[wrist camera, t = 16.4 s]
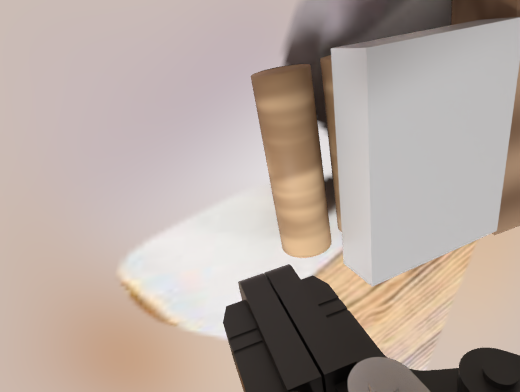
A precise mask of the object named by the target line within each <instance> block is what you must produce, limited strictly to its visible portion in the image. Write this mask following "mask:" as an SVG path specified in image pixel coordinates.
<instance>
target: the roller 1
mask: <svg viewBox="0 0 520 392" xmlns="http://www.w3.org/2000/svg"><path fill="white" fill-rule="evenodd" d="M251 80H252V85H253V91H254V96H255V101H256V107H257V112H258V118H259V123H260V128H261V134H262V139H263V145H264V150H265V155H266V161H267V166H268V171H269V177H270V183H271V188H272V194H273V199H274V204H275V210H276V215H277V221H278V226H279V231H280V237H281V242H282V248H283V250H284V251H285V253H287V254H288V255H291V256H293V257H299V258H307V257H313V256H317V255H319V254H321V253H323V252H325V251H326V250H327V249H328V248H329V247H330V245H331V234H330V226H329V217H328V209H327V200H326V192H325V183H324V175H323V167H322V158H321V150H320V141H319V133H318V124H317V116H316V107H315V99H314V90H313V82H312V73H311V65H309V64H296V65H288V66H282V67H276V68H272V69H268V70H264V71H261V72H258V73H255V74H253V75H252V76H251Z"/></svg>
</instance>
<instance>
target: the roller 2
mask: <svg viewBox="0 0 520 392" xmlns="http://www.w3.org/2000/svg"><path fill="white" fill-rule="evenodd" d="M320 63H321V73H322V82H323V91H324V101H325V110H326V119H327V129H328V138H329V146H330V157H331V166H332V175H333V185H334V194H335V203H336V213H337V222H338V228H339V230H340V231H341V232H342V227H341V211H340V194H339V177H338V161H337V144H336V127H335V111H334V94H333V77H332V61H331V55H328V56H325V57H323V58H321V59H320Z"/></svg>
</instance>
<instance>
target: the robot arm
mask: <svg viewBox="0 0 520 392" xmlns="http://www.w3.org/2000/svg"><path fill="white" fill-rule="evenodd" d="M238 284H239V289H240V293H241V297H242V301H240V302H238V303H235V304H232V305H229V306H226V311H225V316H224V321H223V324H224V327H225V331H226V334H227V338H228V341H229V345H230V348H231V352H232V355H233V359H234V362H235V365H236V369H237V372H238V375H239V378H240V381H241V384H242V387H243V390H244V392H520V356H519V355H516V354H513V353H510V352H507V351H503V350H499V349H495V348H478V349H474V350H471V351H469V352H467V353H466V354H465V355H464V356H463V357H462V359H461V361H460V364H459V368H454V369H442V370H431V371H419V370H412V369H408V368H407V367H406V366H405V365H403V364H402V363H400V362H398V361H396V360H393V359H390V358H387V357H386V356H385V355H384V354H383V353H382V352H381V351H380V349H379V348H378V347H377V346H376V344H375V343H374V342H373V341H372V339H371V338H370V337H369V335H368V334H367V333H366V332H365V330H364V329H363V328H362V326H361V325H360V324H359V323H358V321H357V320H356V319H355V318H354V316H353V315H352V314H351V312H350V311H348V310H347V307H346V306H345V305H344V304H343V302H342V301H341V300H339V298H338V296H337V295H336V293H335V292H334V291H333V290H332V288H331V287H330V286H329V284H327V283H325V282H324V281H322V280H320V279H318V278H316V277H315V276H310V277H307V278H305V279H302V280H301V279H300V278H299V277H298V275H297V274H296V272H295V271H294V269H293V268H292V266H291V265H289V264H288V265H285V266H282V267H280V268H277V269H274V270H271V271H268V272H265V273H264V274H260V275H257V276H254V277H251V278H248V279H245V280H242V281H239V282H238Z"/></svg>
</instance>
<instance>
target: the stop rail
mask: <svg viewBox="0 0 520 392" xmlns="http://www.w3.org/2000/svg"><path fill="white" fill-rule="evenodd" d="M510 17H520V0H452V14H451V25H454V24H460V23H465V22H470V21H475V20H484V19H497V18H510ZM517 226H520V63H519V71H518V78H517V86H516V93H515V101H514V108H513V115H512V123H511V130H510V138H509V145H508V153H507V160H506V167H505V175H504V182H503V190H502V197H501V204H500V212H499V219H498V227H497V231H496V232H493V233H492V234H494V235H496V234H499V233H502V232H504V231H507V230H509V229H512V228H515V227H517Z"/></svg>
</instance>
